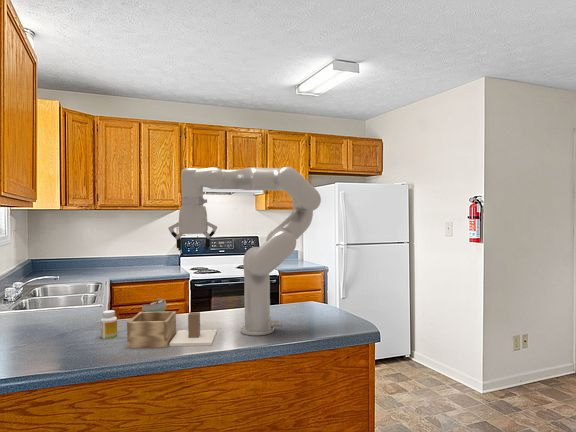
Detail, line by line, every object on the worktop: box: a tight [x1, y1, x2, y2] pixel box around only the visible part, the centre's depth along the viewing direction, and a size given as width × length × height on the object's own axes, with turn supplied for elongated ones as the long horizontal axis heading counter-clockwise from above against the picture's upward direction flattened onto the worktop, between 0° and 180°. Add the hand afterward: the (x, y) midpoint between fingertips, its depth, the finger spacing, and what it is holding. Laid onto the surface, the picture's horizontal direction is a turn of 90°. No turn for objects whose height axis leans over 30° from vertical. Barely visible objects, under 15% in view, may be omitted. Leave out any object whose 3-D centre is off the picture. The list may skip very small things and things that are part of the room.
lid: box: [168, 311, 218, 347], centre depth 152 cm, size 14×15×9 cm
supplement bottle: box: [100, 309, 118, 340], centre depth 155 cm, size 5×5×10 cm
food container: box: [141, 298, 168, 312], centre depth 169 cm, size 12×6×10 cm, turn 168°
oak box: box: [126, 311, 177, 349], centre depth 150 cm, size 13×14×9 cm
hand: (193, 249), depth 157 cm, fingers open, 9 cm apart
